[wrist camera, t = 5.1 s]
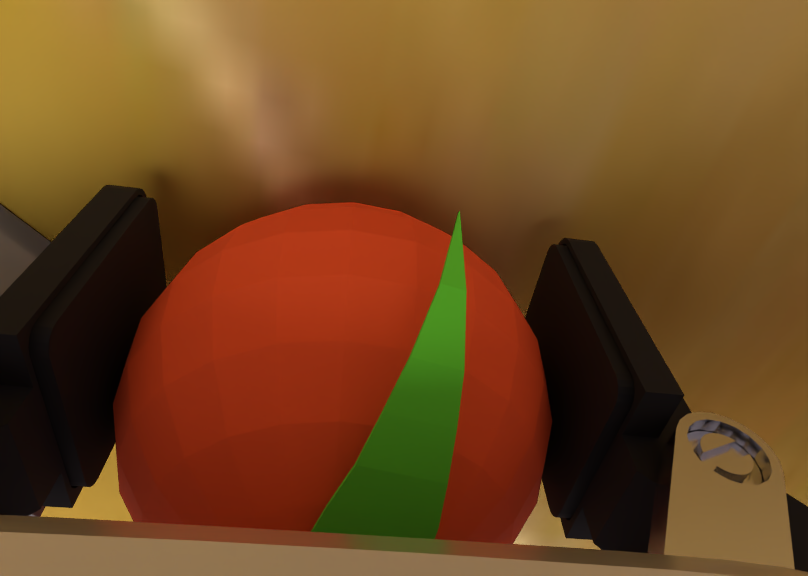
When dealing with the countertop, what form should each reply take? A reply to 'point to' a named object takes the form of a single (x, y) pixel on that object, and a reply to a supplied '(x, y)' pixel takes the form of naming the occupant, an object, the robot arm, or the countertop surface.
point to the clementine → (335, 385)
